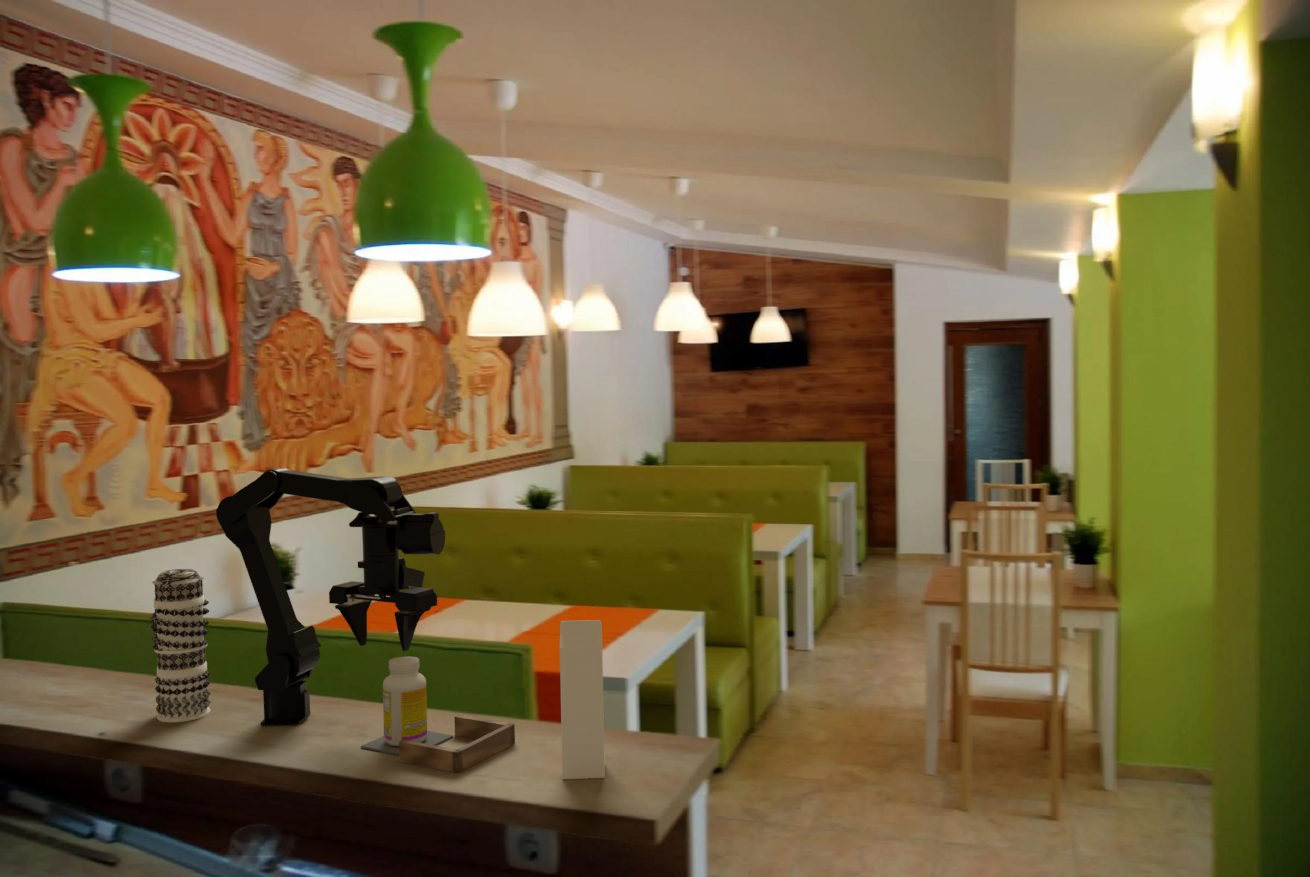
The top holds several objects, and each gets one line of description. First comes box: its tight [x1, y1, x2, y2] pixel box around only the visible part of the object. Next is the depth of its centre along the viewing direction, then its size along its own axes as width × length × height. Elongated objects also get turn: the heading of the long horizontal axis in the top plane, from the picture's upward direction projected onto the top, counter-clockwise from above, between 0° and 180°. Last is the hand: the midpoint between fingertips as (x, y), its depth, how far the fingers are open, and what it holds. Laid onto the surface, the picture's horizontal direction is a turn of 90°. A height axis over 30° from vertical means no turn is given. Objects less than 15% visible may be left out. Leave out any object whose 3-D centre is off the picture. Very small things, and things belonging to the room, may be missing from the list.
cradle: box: [399, 714, 516, 774], centre depth 159 cm, size 11×14×3 cm
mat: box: [360, 730, 454, 756], centre depth 164 cm, size 10×10×1 cm
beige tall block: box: [559, 619, 606, 780], centre depth 150 cm, size 6×6×22 cm
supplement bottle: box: [382, 656, 428, 746], centre depth 164 cm, size 7×7×13 cm
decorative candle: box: [150, 568, 212, 723], centre depth 180 cm, size 9×9×25 cm
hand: (384, 648), depth 172 cm, fingers open, 9 cm apart
